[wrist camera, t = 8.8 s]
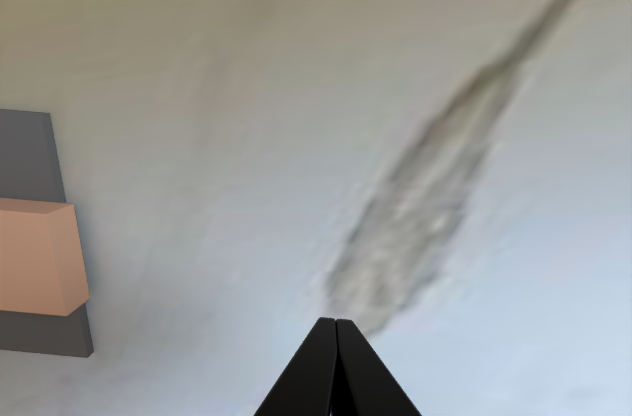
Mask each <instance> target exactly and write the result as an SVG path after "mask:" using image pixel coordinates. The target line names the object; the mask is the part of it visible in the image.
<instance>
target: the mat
mask: <svg viewBox="0 0 632 416" xmlns="http://www.w3.org/2000/svg"><path fill="white" fill-rule="evenodd" d="M0 198H9V199H21V200H32V201H44V202H56V203H66V200H65V195H64V189H63V184H62V178H61V173H60V168H59V162H58V157H57V151H56V146H55V141H54V135H53V130H52V124H51V119H50V114H49V113H41V112H29V111H17V110H5V109H0ZM0 349H2V350H12V351H23V352H33V353H43V354H54V355H64V356H75V357H85V358H88V357H89V356H90V355H91V354H92V353H93V352H94V351H93V346H92V341H91V335H90V330H89V324H88V319H87V314H86V308H85V303H83V304H82V305H81V306H79V307H78V308H77V309H76V310H74V311H73V312H72V313H70V314H69V315H68V316H59V315H48V314H38V313H27V312H16V311H5V310H0Z"/></svg>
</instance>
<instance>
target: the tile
mask: <svg viewBox="0 0 632 416" xmlns="http://www.w3.org/2000/svg"><path fill="white" fill-rule="evenodd" d="M88 299H90V294H89V288H88V283H87V277H86V271H85V266H84V260H83V255H82V249H81V243H80V238H79V232H78V227H77V221H76V215H75V210H74V204H67V203H56V202H44V201H32V200H21V199H9V198H0V310H5V311H16V312H27V313H38V314H48V315H59V316H68V315H69V314H70V313H72V312H73V311H74V310H76V309H77V308H78V307H79V306H81V305H82V304H83V303H85V302H86V301H87V300H88Z"/></svg>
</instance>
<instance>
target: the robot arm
mask: <svg viewBox="0 0 632 416" xmlns="http://www.w3.org/2000/svg"><path fill="white" fill-rule="evenodd" d="M330 413H331V416H422V415H421V414H420V412H419V411H418V410H417V408H416V407H415V406H414V404H413V403H412V402H411V400H410V399H409V397H408V396H407V395H406V393H405V392H404V391H403V389H402V388H401V386H400V385H399V384H398V382H397V381H396V380H395V378H394V377H393V376H392V374H391V373H390V371H389V370H388V369H387V367H386V366H385V365H384V363H383V362H382V361H381V359H380V358H379V356H378V355H377V354H376V352H375V351H374V350H373V348H372V347H371V346H370V344H369V343H368V341H367V340H366V339H365V337H364V336H363V335H362V333H361V332H360V331H359V329H358V328H357V326H356V325H355V324H354V322H353V321H352V320H347V319H337V320H336V321H335V319H334V318H325V317H320V318H319V319H318V320H317V322H316V323H315V325H314V326H313V328H312V329H311V331H310V332H309V334H308V335H307V337H306V338H305V340H304V341H303V343H302V344H301V346H300V347H299V348H298V350H297V351H296V353H295V354H294V356H293V357H292V359H291V360H290V362H289V363H288V365H287V366H286V368H285V369H284V371H283V372H282V374H281V375H280V377H279V378H278V380H277V381H276V383H275V384H274V386H273V387H272V389H271V390H270V392H269V393H268V395H267V396H266V398H265V399H264V401H263V402H262V404H261V405H260V407H259V408H258V410H257V411H256V413H255V414H254V416H330Z"/></svg>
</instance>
